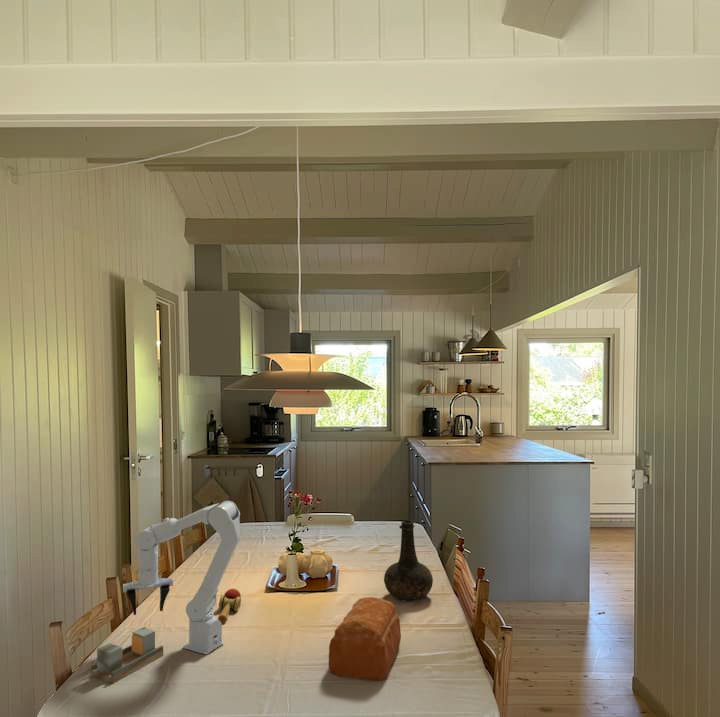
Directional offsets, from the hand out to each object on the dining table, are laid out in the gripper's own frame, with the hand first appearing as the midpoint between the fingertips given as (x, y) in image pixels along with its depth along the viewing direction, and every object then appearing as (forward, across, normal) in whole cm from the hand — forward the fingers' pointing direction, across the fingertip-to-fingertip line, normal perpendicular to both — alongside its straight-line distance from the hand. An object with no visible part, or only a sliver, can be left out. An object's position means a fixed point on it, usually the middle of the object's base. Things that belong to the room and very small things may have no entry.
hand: (148, 611), depth 191 cm
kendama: (+10, +27, +14) cm, 32 cm away
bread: (+10, +58, -35) cm, 68 cm away
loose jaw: (+8, -2, -10) cm, 13 cm away
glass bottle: (+10, +91, +2) cm, 92 cm away
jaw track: (+9, -6, -13) cm, 17 cm away
